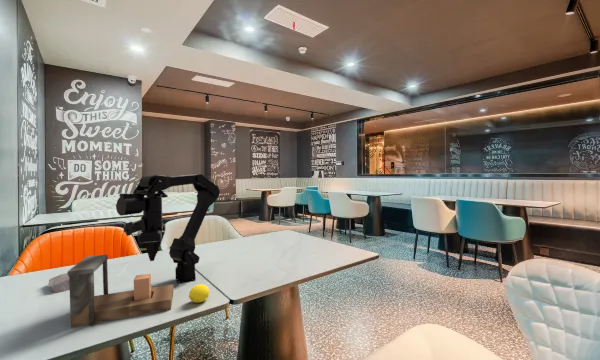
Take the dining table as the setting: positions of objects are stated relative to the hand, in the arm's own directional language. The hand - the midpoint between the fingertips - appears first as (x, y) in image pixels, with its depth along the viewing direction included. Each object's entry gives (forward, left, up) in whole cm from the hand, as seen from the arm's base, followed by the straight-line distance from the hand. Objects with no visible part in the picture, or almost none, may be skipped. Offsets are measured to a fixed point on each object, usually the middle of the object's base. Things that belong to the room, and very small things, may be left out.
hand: (153, 256), depth 93 cm
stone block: (+31, -19, -12) cm, 38 cm away
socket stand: (+6, +10, -12) cm, 17 cm away
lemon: (-14, +14, -12) cm, 23 cm away
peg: (+2, +10, -12) cm, 16 cm away
